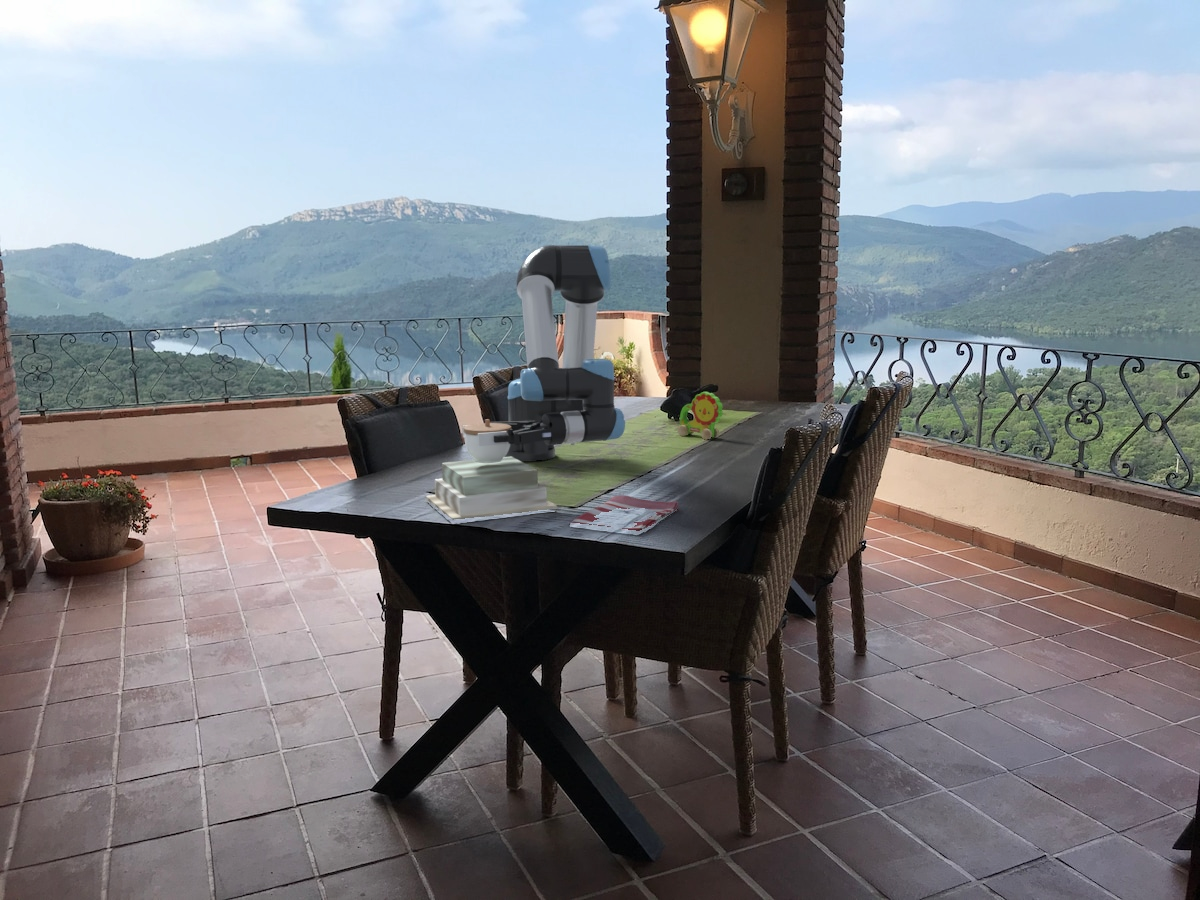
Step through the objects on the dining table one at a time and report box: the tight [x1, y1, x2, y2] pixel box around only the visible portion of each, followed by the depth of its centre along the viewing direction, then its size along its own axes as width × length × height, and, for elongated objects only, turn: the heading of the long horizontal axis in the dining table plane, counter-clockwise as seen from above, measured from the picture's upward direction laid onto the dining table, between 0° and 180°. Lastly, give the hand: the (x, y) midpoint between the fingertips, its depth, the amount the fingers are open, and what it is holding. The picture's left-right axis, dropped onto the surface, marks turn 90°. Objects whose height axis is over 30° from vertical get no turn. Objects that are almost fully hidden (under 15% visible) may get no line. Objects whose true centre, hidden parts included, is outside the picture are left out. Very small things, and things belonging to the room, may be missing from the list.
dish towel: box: [569, 494, 679, 531], centre depth 192 cm, size 17×23×3 cm
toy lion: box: [676, 391, 724, 440], centre depth 287 cm, size 16×6×15 cm, turn 47°
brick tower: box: [425, 456, 558, 520], centre depth 201 cm, size 22×24×10 cm
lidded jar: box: [463, 418, 512, 463], centre depth 199 cm, size 11×11×9 cm
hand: (470, 435), depth 197 cm, fingers closed on lidded jar, 11 cm apart
